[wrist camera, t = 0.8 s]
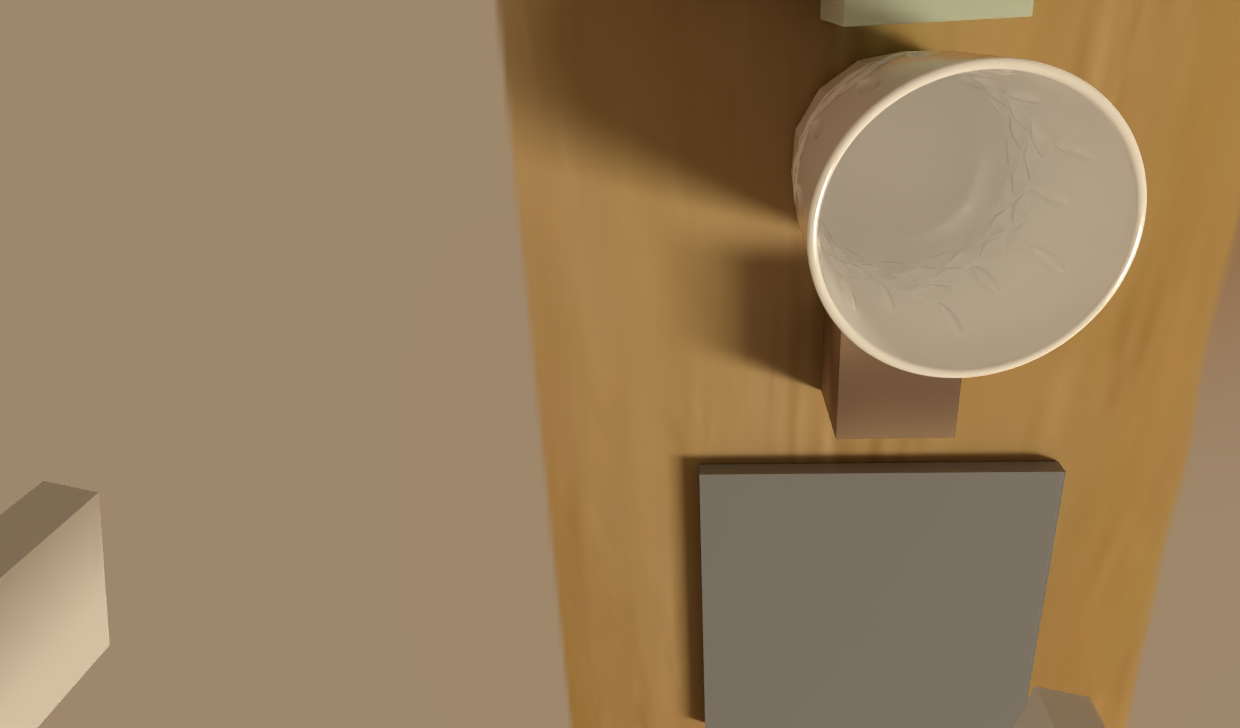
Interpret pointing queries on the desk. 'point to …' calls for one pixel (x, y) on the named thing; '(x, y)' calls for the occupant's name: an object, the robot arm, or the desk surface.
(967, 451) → the desk surface
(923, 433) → the walnut block
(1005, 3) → the sage block
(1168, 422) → the desk surface
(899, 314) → the white cup
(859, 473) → the coaster
